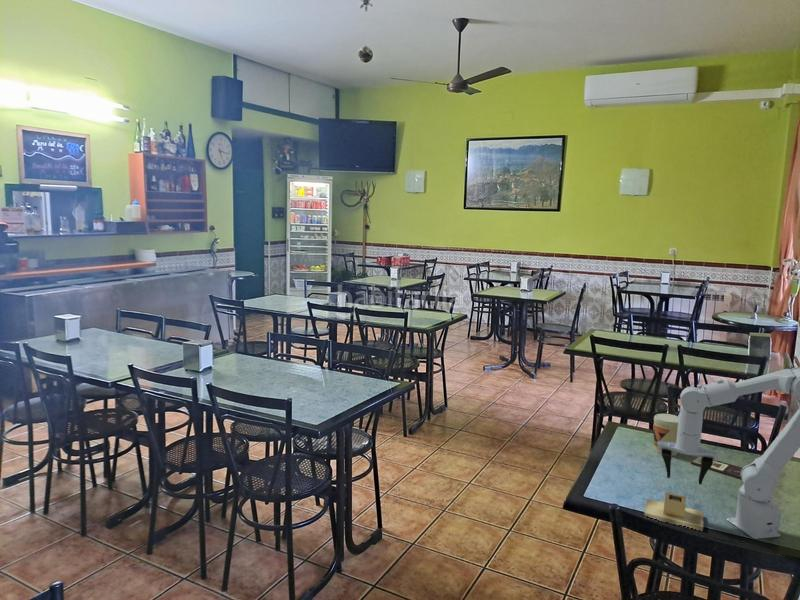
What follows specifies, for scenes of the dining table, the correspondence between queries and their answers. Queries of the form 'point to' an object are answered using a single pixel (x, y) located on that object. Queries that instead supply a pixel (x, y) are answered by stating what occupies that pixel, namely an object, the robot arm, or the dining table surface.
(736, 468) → the chocolate bar
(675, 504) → the collar
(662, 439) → the coffee cup
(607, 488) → the dining table surface
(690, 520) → the post stand
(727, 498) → the dining table surface
